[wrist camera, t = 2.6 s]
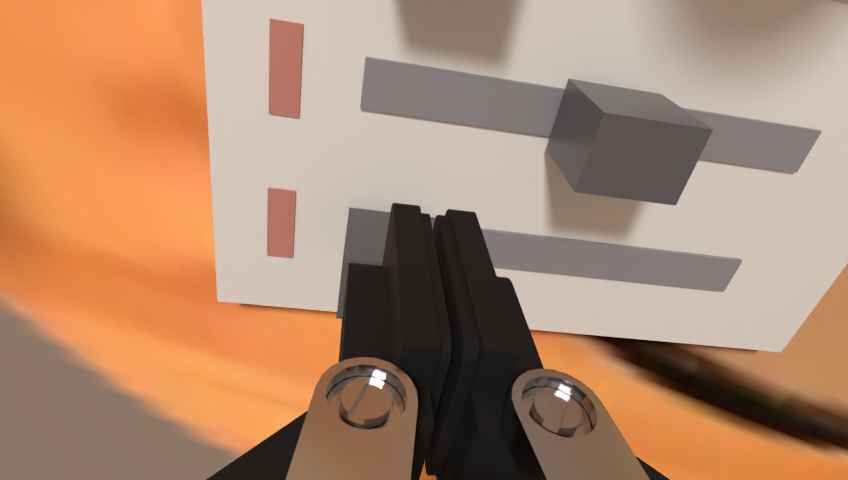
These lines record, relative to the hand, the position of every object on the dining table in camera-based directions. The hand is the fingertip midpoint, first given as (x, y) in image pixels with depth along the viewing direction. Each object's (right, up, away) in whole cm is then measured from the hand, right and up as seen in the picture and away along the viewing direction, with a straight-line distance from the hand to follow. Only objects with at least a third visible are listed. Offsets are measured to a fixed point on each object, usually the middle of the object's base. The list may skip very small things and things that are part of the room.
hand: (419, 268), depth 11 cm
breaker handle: (+8, +6, +11) cm, 14 cm away
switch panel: (+7, +7, +13) cm, 16 cm away
